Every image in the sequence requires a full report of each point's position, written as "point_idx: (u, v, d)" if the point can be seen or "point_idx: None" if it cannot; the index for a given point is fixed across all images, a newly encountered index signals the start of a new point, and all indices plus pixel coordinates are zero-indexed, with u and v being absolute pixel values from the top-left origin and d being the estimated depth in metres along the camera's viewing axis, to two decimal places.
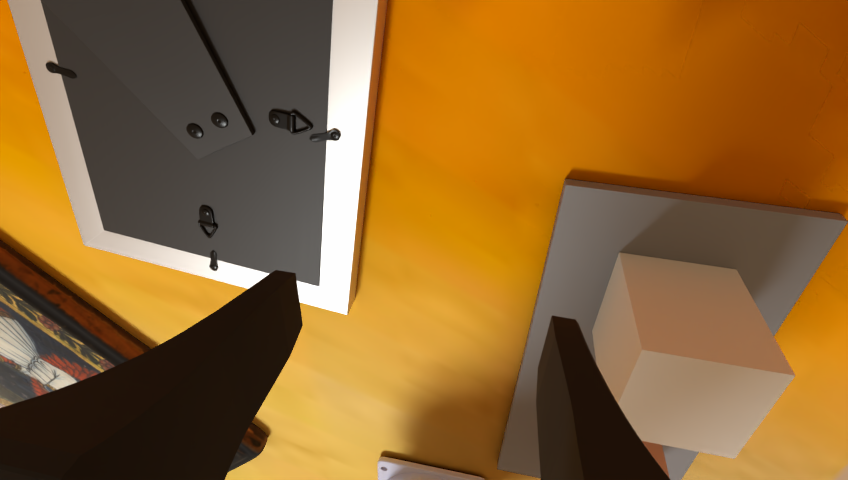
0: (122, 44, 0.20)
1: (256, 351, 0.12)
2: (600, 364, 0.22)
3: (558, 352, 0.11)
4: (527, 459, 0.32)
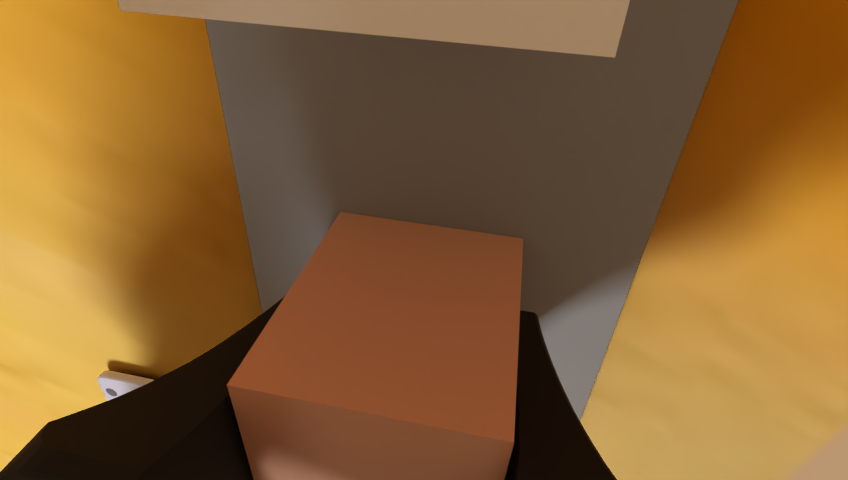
0: None
1: None
2: None
3: None
4: None
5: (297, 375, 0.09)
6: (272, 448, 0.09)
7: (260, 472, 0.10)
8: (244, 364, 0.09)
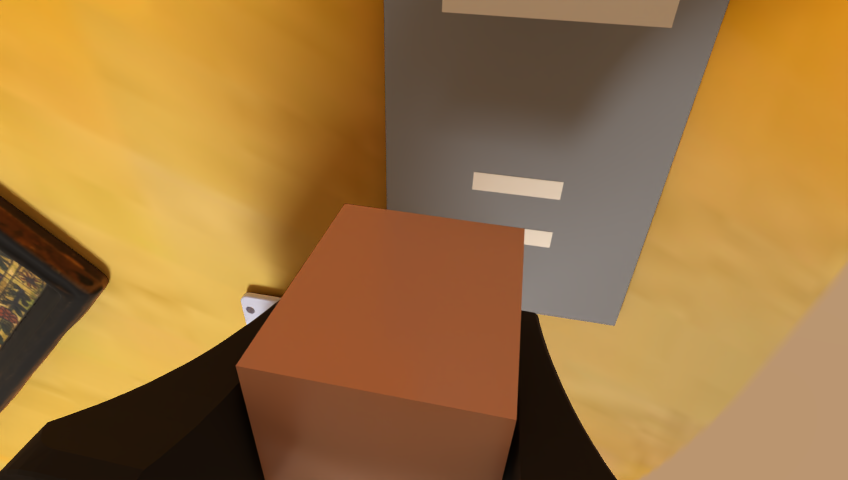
0: None
1: None
2: None
3: None
4: None
5: (304, 356, 0.09)
6: (279, 430, 0.10)
7: (267, 455, 0.10)
8: (252, 346, 0.09)
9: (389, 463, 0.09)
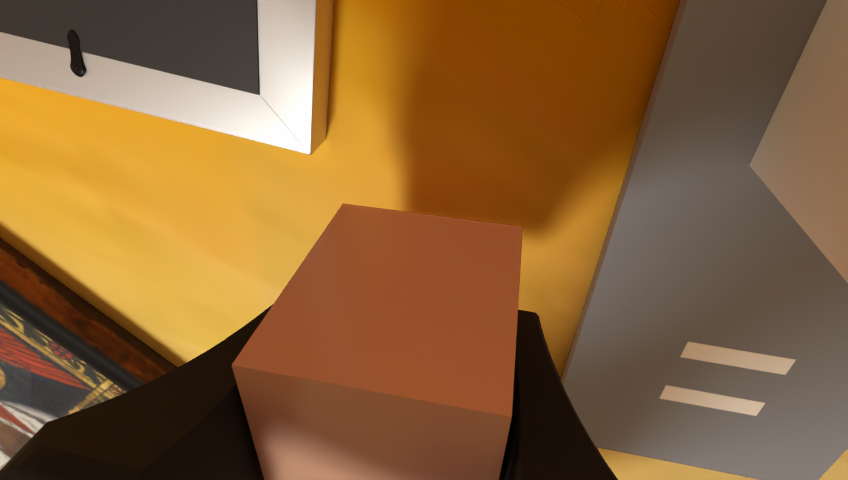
0: None
1: None
2: (802, 193, 0.11)
3: None
4: (596, 419, 0.21)
5: (300, 355, 0.09)
6: (277, 429, 0.10)
7: (265, 454, 0.10)
8: (248, 346, 0.09)
9: (386, 462, 0.09)
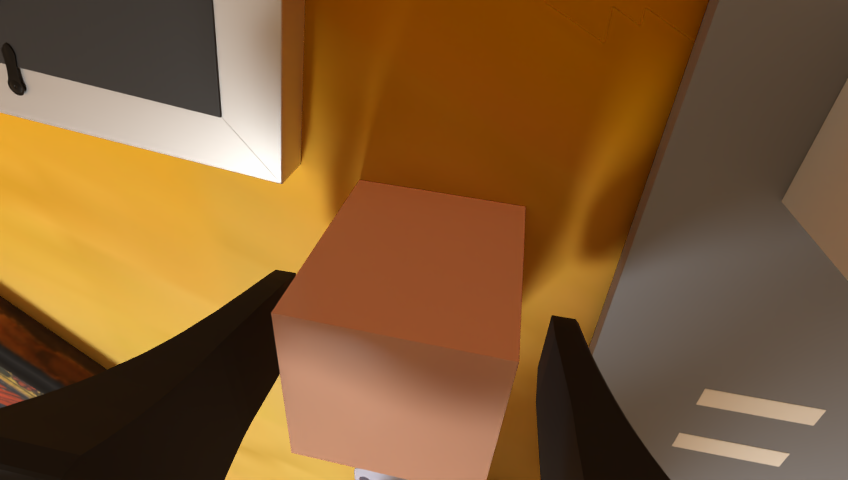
0: None
1: (256, 351, 0.12)
2: None
3: (558, 352, 0.11)
4: None
5: (331, 307, 0.10)
6: (305, 374, 0.11)
7: (291, 399, 0.11)
8: (284, 297, 0.10)
9: (402, 405, 0.11)
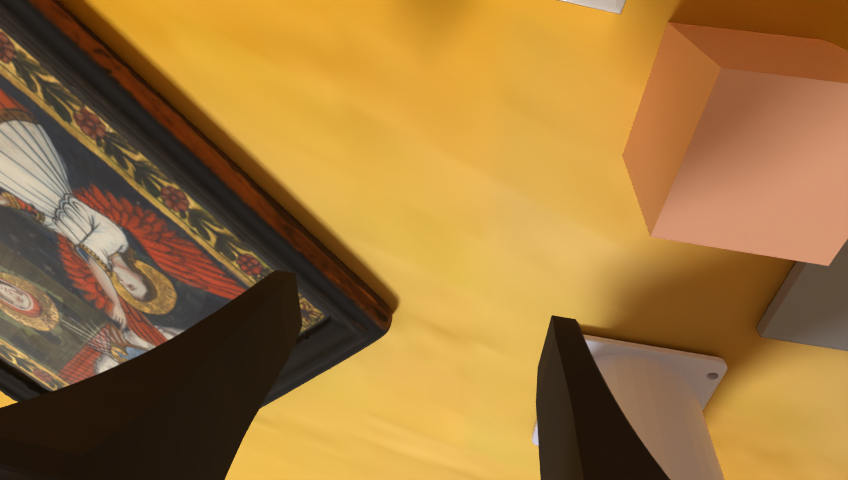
0: None
1: (256, 351, 0.12)
2: None
3: (558, 352, 0.11)
4: (823, 313, 0.21)
5: (761, 68, 0.12)
6: (717, 137, 0.13)
7: (686, 170, 0.13)
8: (717, 63, 0.12)
9: (801, 162, 0.13)
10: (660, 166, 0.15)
